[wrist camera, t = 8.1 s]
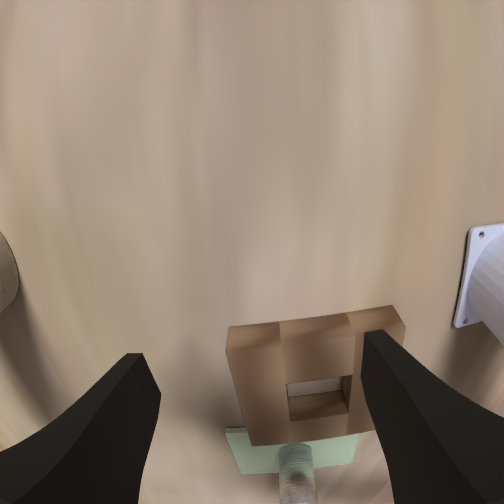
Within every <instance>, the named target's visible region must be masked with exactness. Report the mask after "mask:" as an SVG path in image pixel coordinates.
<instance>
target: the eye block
mask: <svg viewBox="0 0 504 504" xmlns="http://www.w3.org/2000/svg"><path fill="white" fill-rule="evenodd" d="M380 329H383V330H384V331H385V332H387V333H388V334H389V335H390V336H391V337H392V338H393V339H394V340H395V341H396V342H397V343H399V344H400V345H401V346H403V341H404V335H405V329H406V326H405V325H404V323H403V321H402V320H401V318H400V316H399V315H398V313H397V311H396V310H395V308H394V307H393V305H389V306H384V307H378V308H372V309H366V310H360V311H354V312H347V313H341V314H334V315H327V316H320V317H312V318H305V319H297V320H289V321H280V322H272V323H262V324H253V325H243V326H232V327H229V328H228V336H227V343H226V351H225V352H226V356H227V360H228V364H229V367H230V371H231V375H232V379H233V382H234V386H235V390H236V393H237V397H238V401H239V404H240V408H241V411H242V415H243V418H244V422H245V425H246V429H247V432H248V435H249V439H250V442H251V446H268V445H280V444H291V443H300V442H308V441H316V440H323V439H329V438H335V437H341V436H347V435H352V434H357V433H362V432H367V431H372V430H376V429H375V426H374V423H373V421H372V418H371V415H370V412H369V409H368V407H367V404H366V400H365V395H364V391H363V387H362V382H361V378H360V375H361V366H362V356H363V345H364V332H369V331H374V330H380ZM340 376H344V377H343V390H339V391H333V392H326V393H320V394H313V395H305V396H297V397H288V393H287V384H289V383H298V382H306V381H313V380H320V379H327V378H334V377H340Z"/></svg>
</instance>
